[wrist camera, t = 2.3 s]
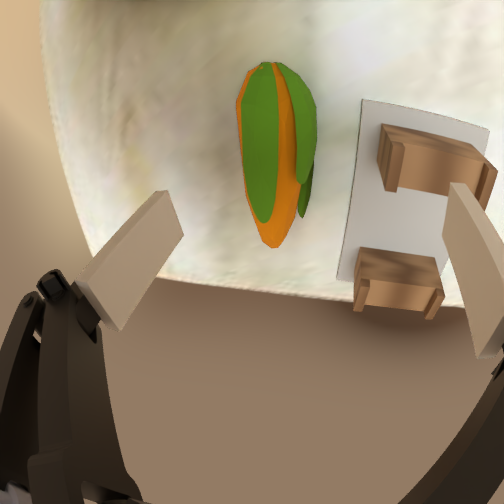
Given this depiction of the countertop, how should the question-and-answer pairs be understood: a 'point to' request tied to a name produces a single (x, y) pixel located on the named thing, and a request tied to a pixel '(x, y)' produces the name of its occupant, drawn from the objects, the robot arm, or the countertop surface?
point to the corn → (276, 147)
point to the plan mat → (398, 191)
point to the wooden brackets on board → (427, 180)
